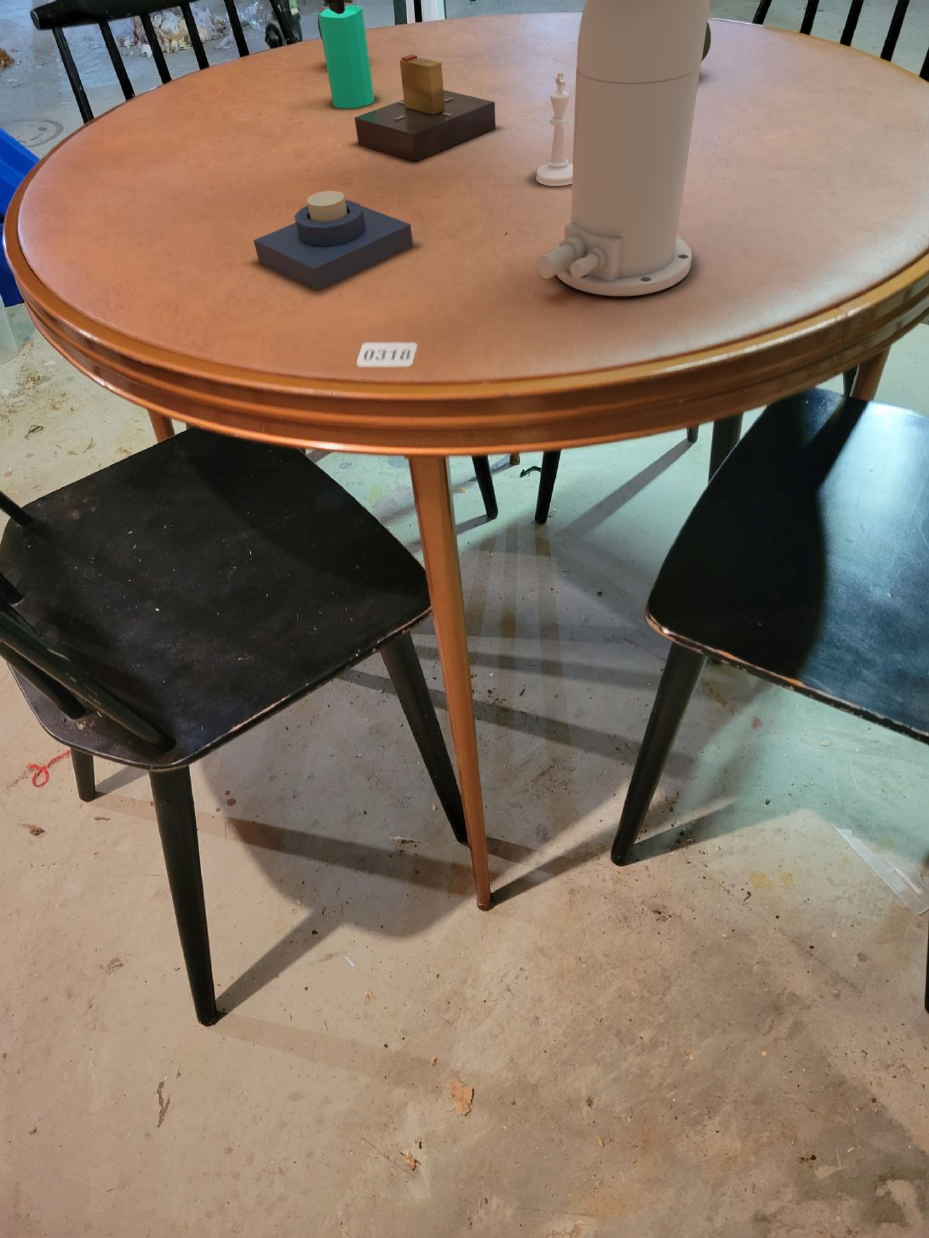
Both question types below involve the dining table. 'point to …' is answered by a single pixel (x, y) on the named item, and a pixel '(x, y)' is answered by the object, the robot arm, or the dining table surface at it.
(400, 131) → the plate
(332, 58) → the candle
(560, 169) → the chess piece
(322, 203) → the bell button
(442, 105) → the lock knob
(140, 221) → the dining table surface
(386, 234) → the button base
